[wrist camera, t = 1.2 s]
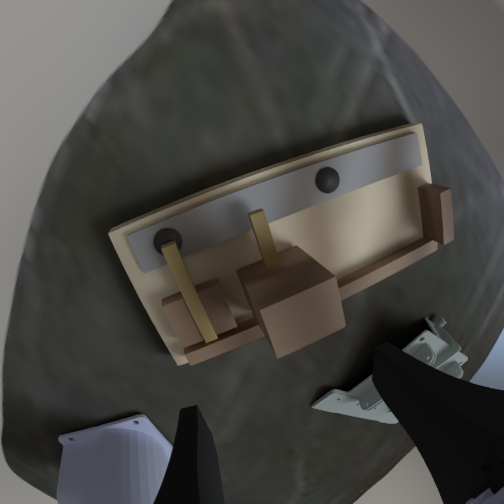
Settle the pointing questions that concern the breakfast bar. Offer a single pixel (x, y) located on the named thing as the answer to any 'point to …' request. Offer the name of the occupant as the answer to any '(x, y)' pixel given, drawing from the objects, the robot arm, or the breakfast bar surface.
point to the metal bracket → (366, 395)
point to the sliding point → (289, 293)
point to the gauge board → (284, 234)
